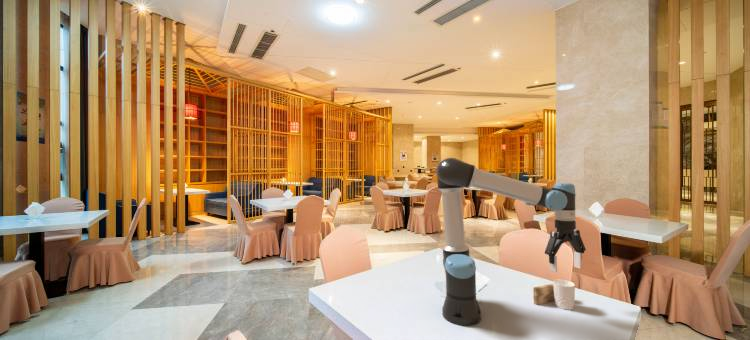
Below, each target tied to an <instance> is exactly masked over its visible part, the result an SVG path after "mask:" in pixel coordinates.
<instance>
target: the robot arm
mask: <svg viewBox="0 0 750 340" xmlns="http://www.w3.org/2000/svg"><path fill="white" fill-rule="evenodd" d="M435 175H436V181H437V182H436V183H437V190H438V191H440V192H441V200H442V201H441V203H442V215H443V227H444V240H445V242H444V243H445V244H444V246H442V258H443V259H442V265H443V267H444V274H445V289H446V291H445V293H446V294H445V299H444V301H443V302H444V303H443V306H442V308H441V309H442V310H441V311H442V316H443V318H444V319H445V320H447V322H449V323H453V324H454V325H455V324H456V325H461V326H472V325H476V324H478V323H480V322H481V321H482V311H481V308H480V305H479V302H478V300H477V285H476V283H477V281H476V270H477V267H476V262H475V260H474V259H473V257H472V256H470V247H469V246H468V245H467V244H466V237H465V227H464V225H465V224H464V223H465V222H464V214H463V212H464V211H463V202H462V201H463V200H462V190H463V189H470V188H471V187H472V188H476V189H478V190H482V191H487V192H489V193H492V194H495V195H496V194H497V195H500V196H503V197H507V198H511V199H514V200H518V201H521V202H524V204H525V205H526V206H532V207H534V206H538V207H541V208H545V209H548V210H550V211H554V212H553V213H554V218H555V219H554V228H556V231H550V232H549V233H550V234H549V235H550V236H549V239H548V242H547V244H546V247H545V251H544V254H545V255H547V256H548V262H549V271H551V272H554V273H558V257H557V253H558V251H559V250H560V249H561V246H562V245H563V244H564V243H567V242H569V244H570V245H571V247H572V248H573V250H574V251H573V268H577V269H582V259H583V257H582V254H585V252H586V250H587V248H586V247H585V244H584V241H583V239H582V237H581V231H580V230H579V229H576V228H577V222H576V221H575V220H577V219H576V195H577V194H576V186H575V185H574V183H568V182H567V183H566V182H565V183H562V182H561V183H560V182H559V183H558V182H557V183H554V184H553V187H544V186H543V187H542V186H541V185H537V184H533V183H530V182H525V181H522V180H520V179H519V180H518V179H516V178H512V177H508V176H505V175H501V174H497V173H493V172H490V171H485V170H483V169H480V168H479V169H478V168H477V167H476V165H474V164H470V163H468V162H465V161H463V160H461V159H458V158H455V157H447V158H444V159H442V160H441V161H440V162H439V163H438V164H437V166H436V169H435Z"/></svg>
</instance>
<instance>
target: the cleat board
mask: <svg viewBox="0 0 750 340" xmlns="http://www.w3.org/2000/svg"><path fill="white" fill-rule="evenodd" d="M532 288H533V290H532V291H533V304H534V305H537V306H538V305H541V304H546V303H547V304H548V303H552V302H555V298H554V288H553V283H551V284H545V285H540V286H539V285H538V286H534V287H532Z"/></svg>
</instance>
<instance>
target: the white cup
mask: <svg viewBox="0 0 750 340" xmlns="http://www.w3.org/2000/svg"><path fill="white" fill-rule="evenodd" d="M552 284H553V288H554V298H555V301H554V305H555V306H556V307H557V308H559V309H561V310H569V311H571V310H573V309H575V308H574V307H575V299H576V298H575V297H576V294H575V293H576V292H575V291H576V284H575V283H574V282H572V281H569V280H566V279H554V280H553V281H552Z"/></svg>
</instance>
